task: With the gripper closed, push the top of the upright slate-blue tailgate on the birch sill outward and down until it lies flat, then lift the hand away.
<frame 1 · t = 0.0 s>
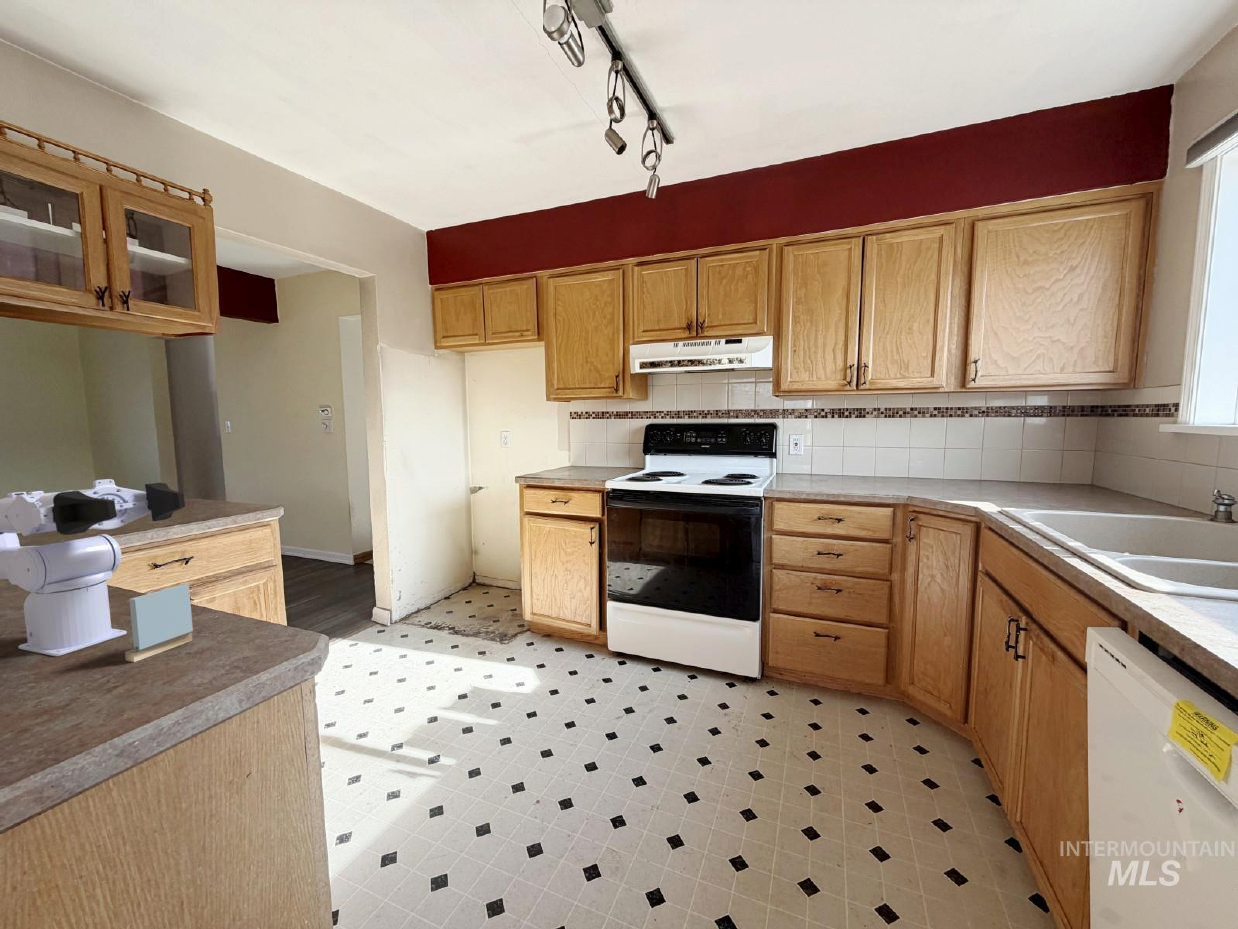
hand: (148, 504, 66), 22 cm above the worktop, tool horizontal, fingers open, 7 cm apart
tailgate: (162, 617, 69), point 5 cm above the worktop, hinge at 0.0°
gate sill: (160, 650, 70), on the worktop
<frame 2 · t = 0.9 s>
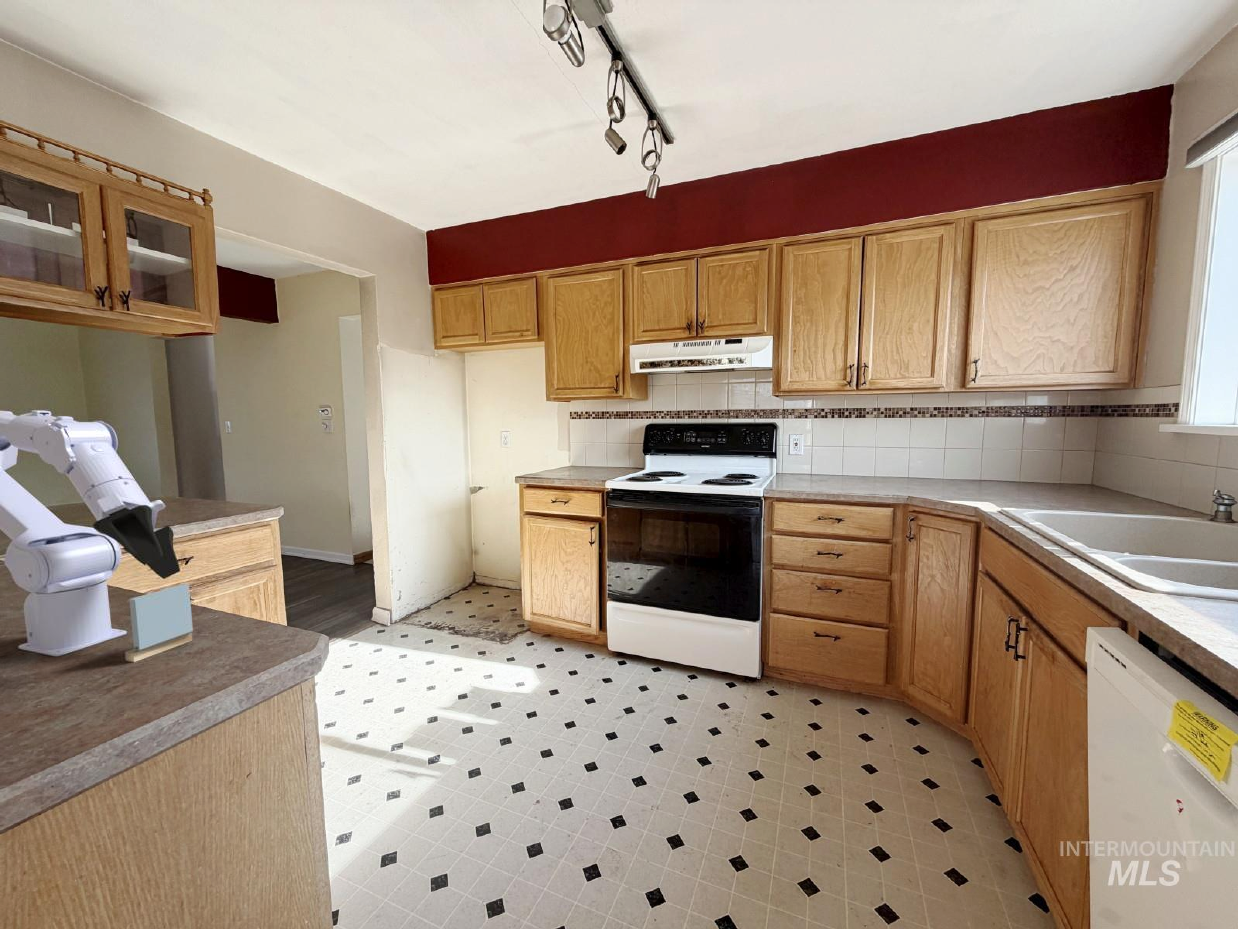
hand: (162, 567, 68), 12 cm above the worktop, tool tilted 40°, fingers open, 7 cm apart
nothing on the worktop moved.
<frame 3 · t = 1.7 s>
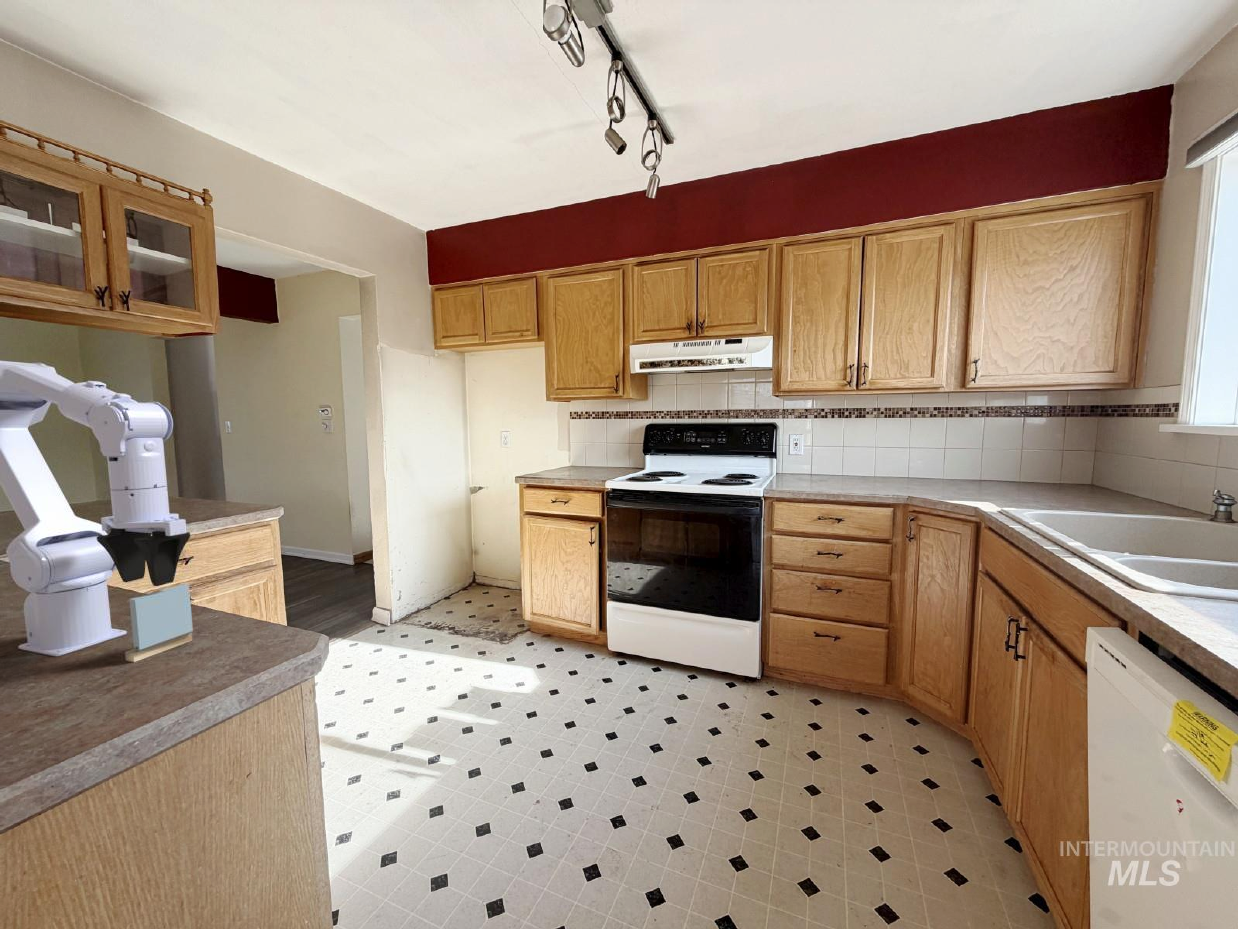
hand: (148, 582, 70), 10 cm above the worktop, tool pointing down, fingers open, 6 cm apart
nothing on the worktop moved.
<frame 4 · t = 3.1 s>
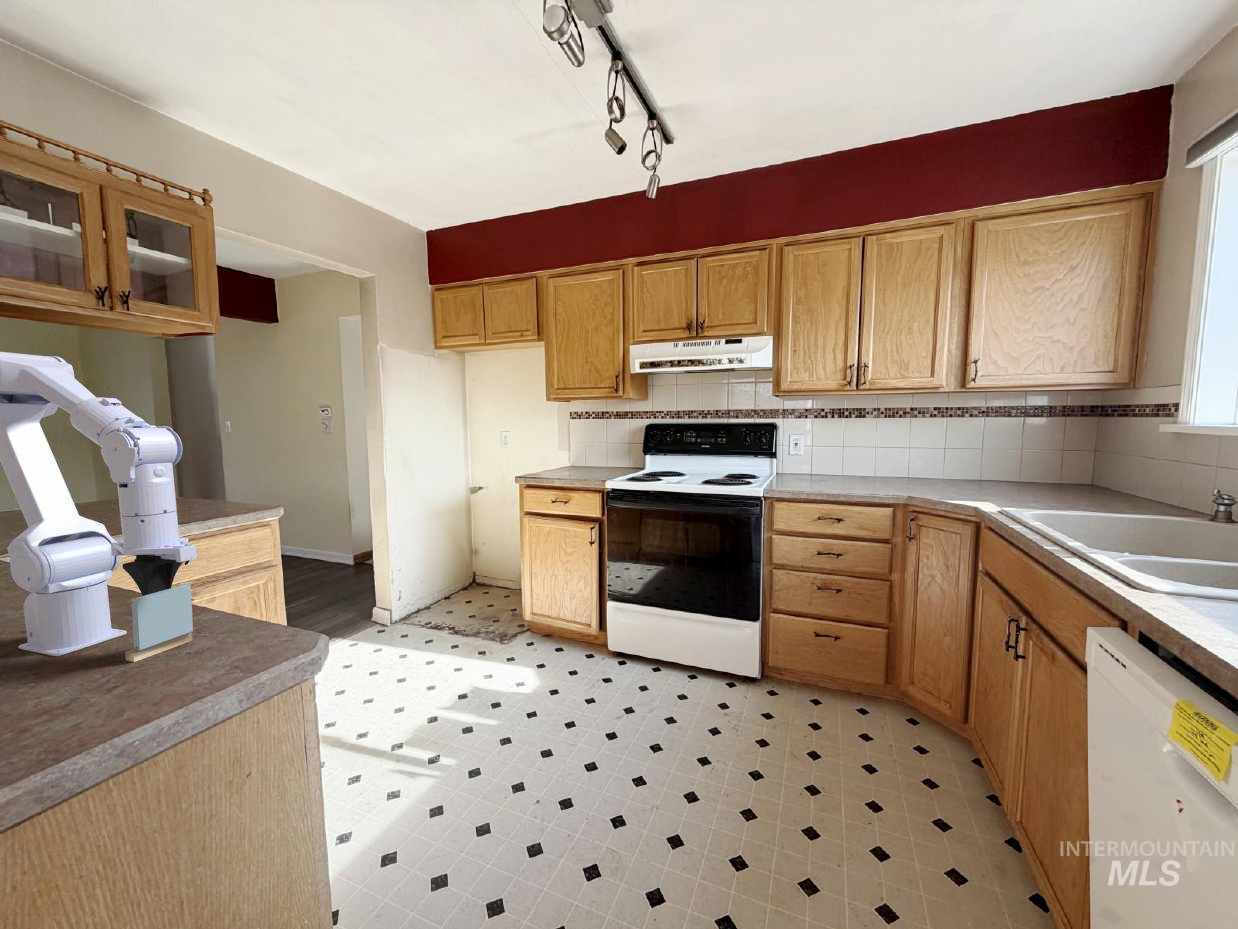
hand: (158, 607, 69), 6 cm above the worktop, tool pointing down, fingers closed, pressing on tailgate
tailgate: (163, 617, 69), point 5 cm above the worktop, hinge at 3.7°, touching gripper
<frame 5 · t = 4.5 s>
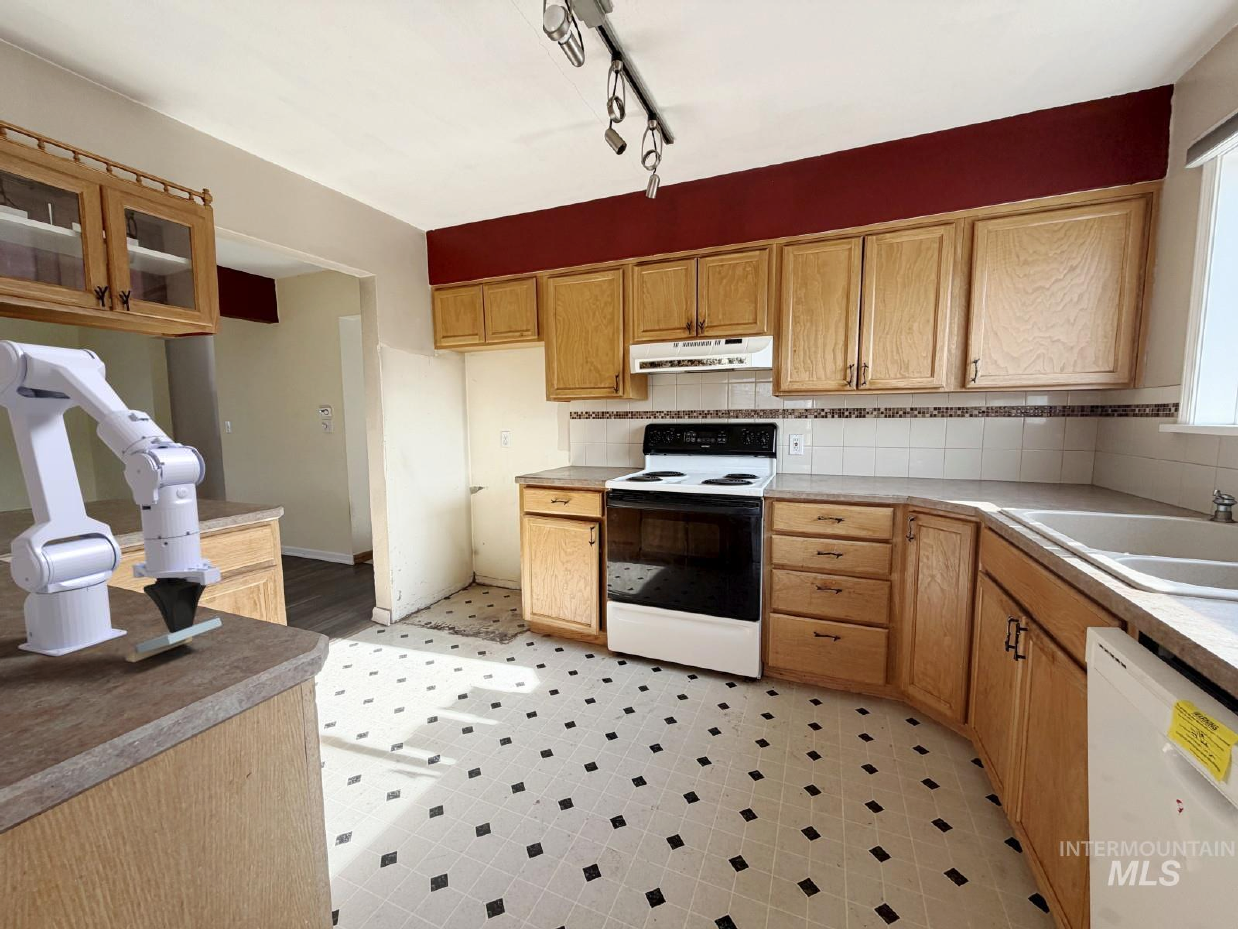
hand: (181, 630, 68), 4 cm above the worktop, tool pointing down, fingers closed, pressing on tailgate
tailgate: (179, 635, 69), point 3 cm above the worktop, hinge at 72.2°, touching gripper
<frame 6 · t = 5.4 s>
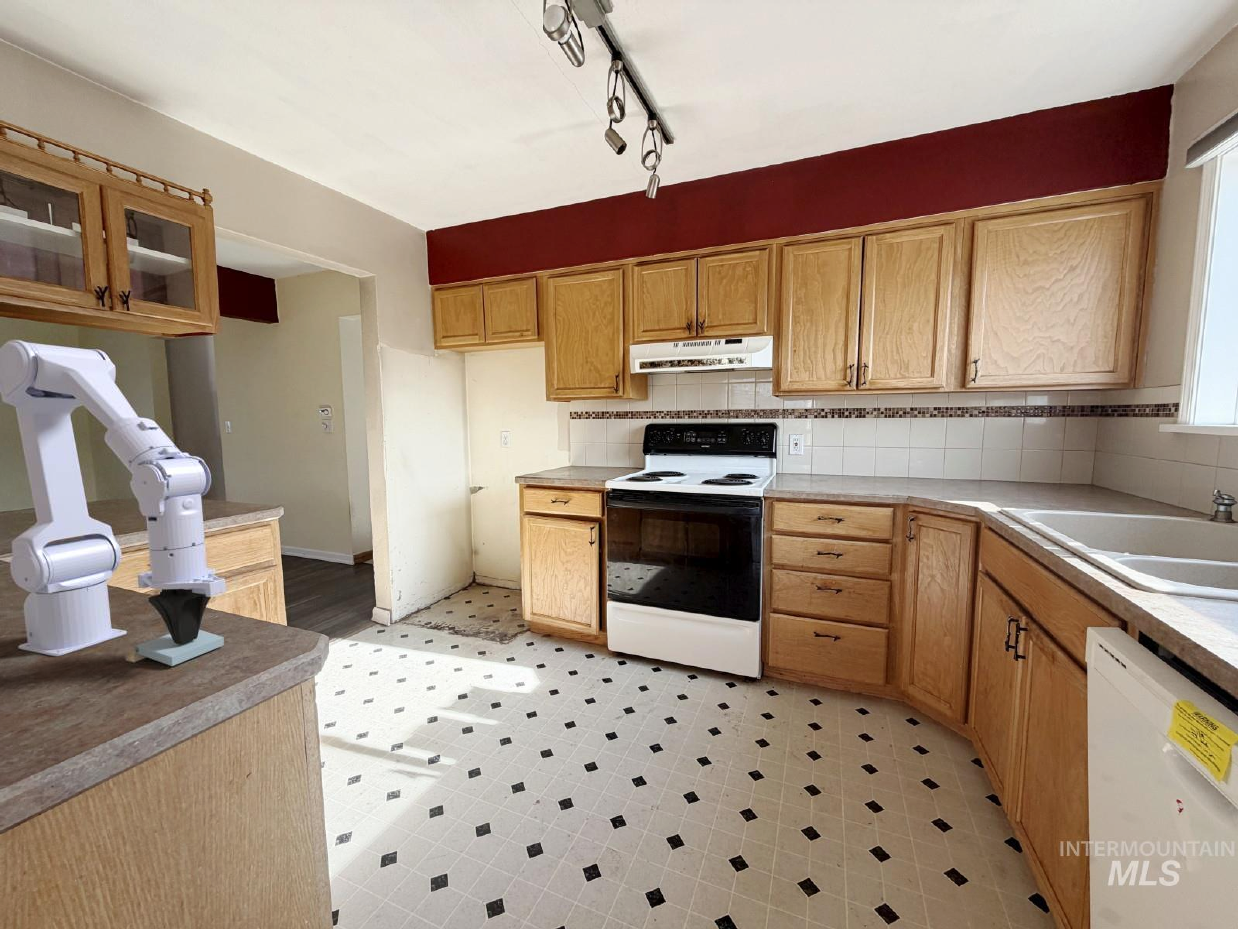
hand: (186, 640, 68), 2 cm above the worktop, tool pointing down, fingers closed
tailgate: (180, 644, 69), point 1 cm above the worktop, hinge at 96.8°
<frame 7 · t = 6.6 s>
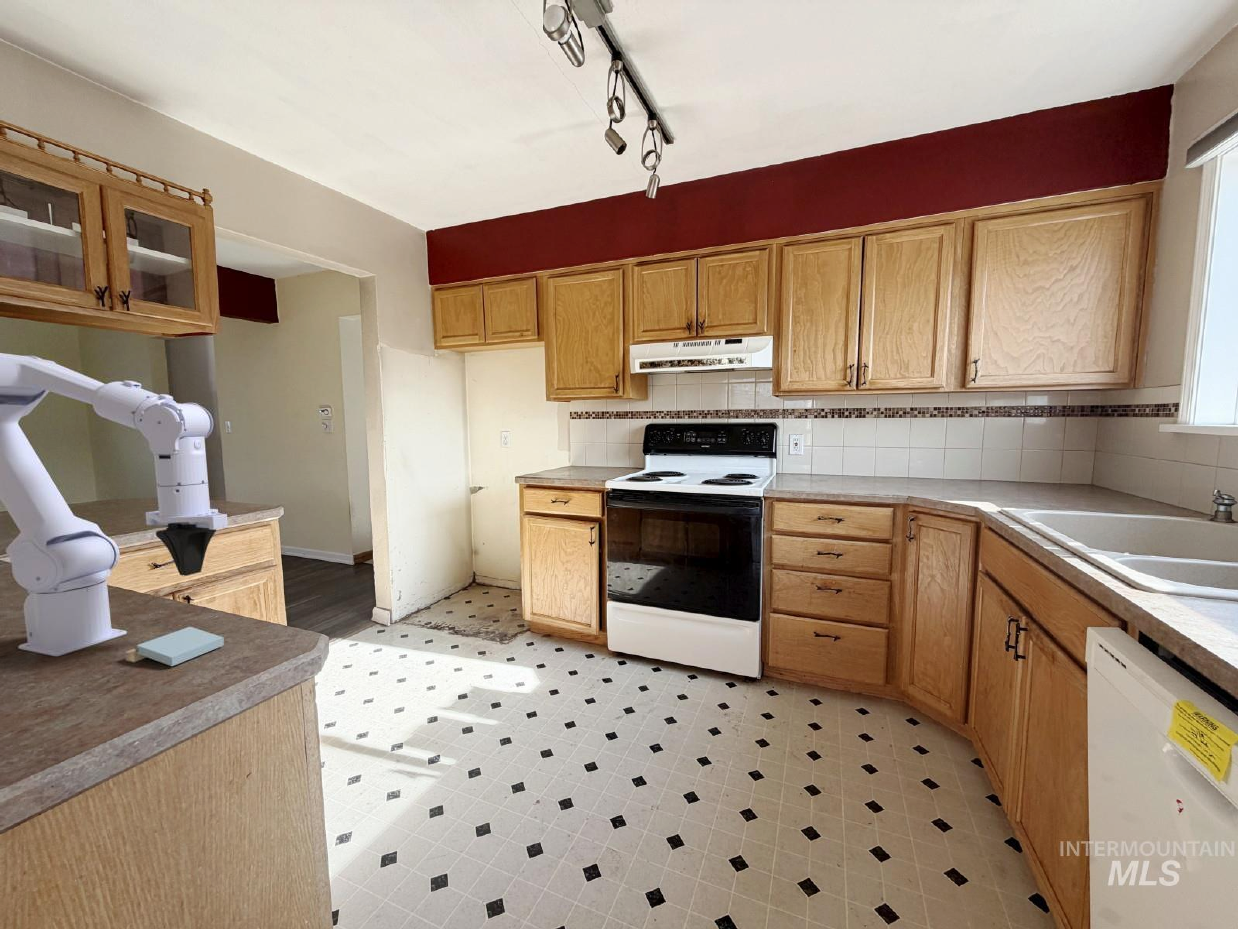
hand: (190, 573, 74), 10 cm above the worktop, tool pointing down, fingers closed
nothing on the worktop moved.
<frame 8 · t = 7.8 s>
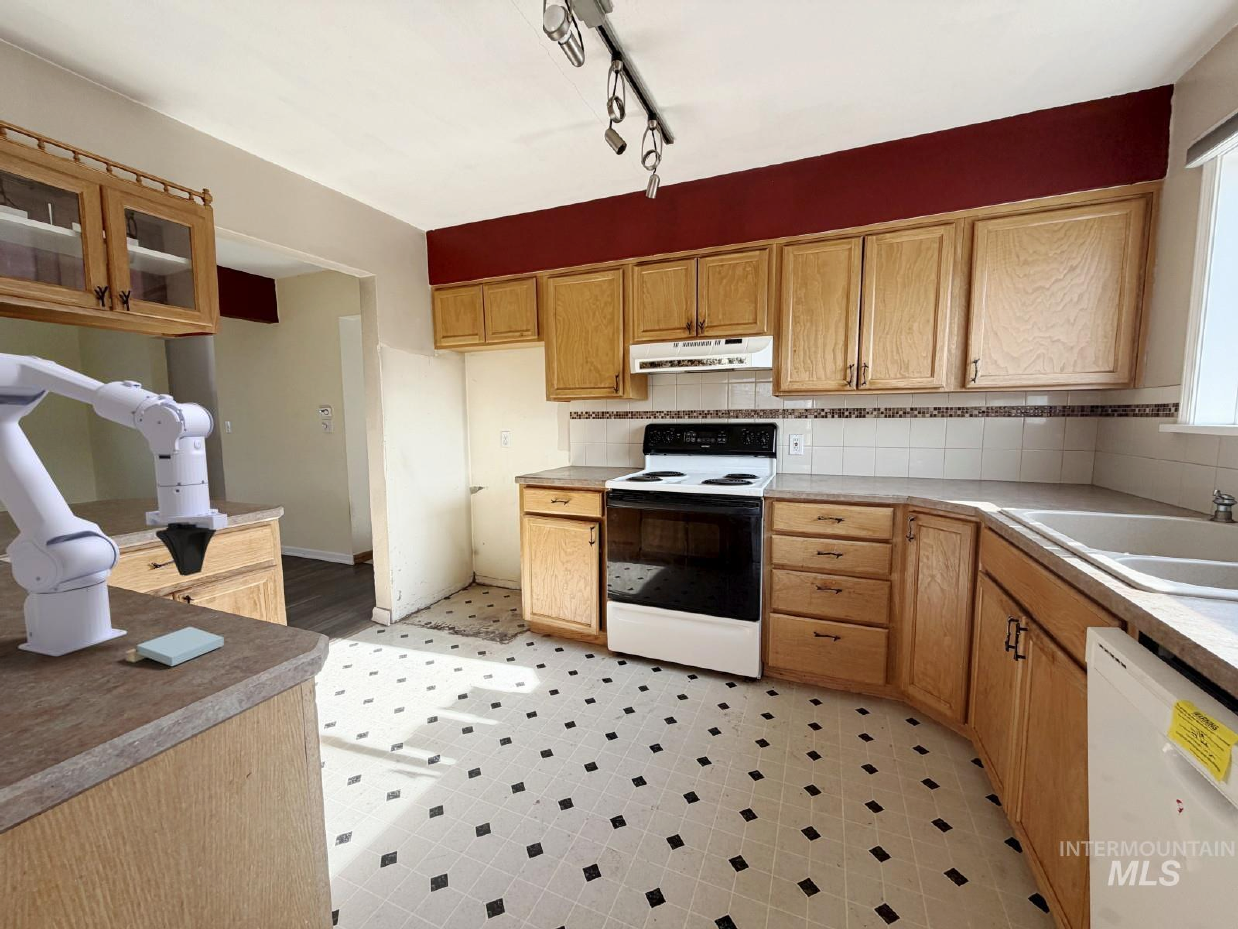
hand: (190, 573, 74), 10 cm above the worktop, tool pointing down, fingers closed
nothing on the worktop moved.
at the end: tailgate at +97° (first picture: +0°) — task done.
